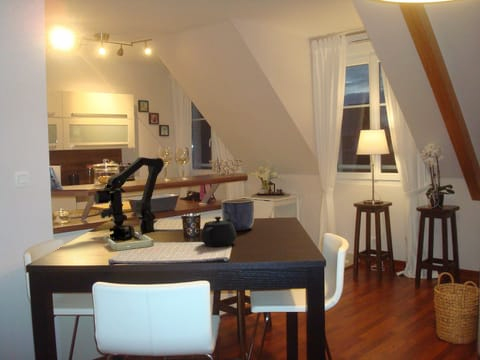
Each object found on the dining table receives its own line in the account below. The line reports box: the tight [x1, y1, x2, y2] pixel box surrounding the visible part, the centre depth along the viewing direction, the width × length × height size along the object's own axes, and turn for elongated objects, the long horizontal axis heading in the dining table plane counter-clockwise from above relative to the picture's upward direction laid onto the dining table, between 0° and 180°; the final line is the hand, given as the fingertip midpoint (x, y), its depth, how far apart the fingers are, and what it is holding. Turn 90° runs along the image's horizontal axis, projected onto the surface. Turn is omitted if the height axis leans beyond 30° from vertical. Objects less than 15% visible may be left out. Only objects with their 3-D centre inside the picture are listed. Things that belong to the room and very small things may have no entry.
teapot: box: [200, 216, 238, 248], centre depth 209 cm, size 25×16×12 cm, turn 156°
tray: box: [107, 234, 155, 252], centre depth 215 cm, size 17×16×3 cm
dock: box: [102, 231, 143, 244], centre depth 230 cm, size 16×10×3 cm, turn 116°
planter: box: [221, 198, 255, 232], centre depth 244 cm, size 17×17×15 cm
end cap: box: [109, 224, 136, 242], centre depth 230 cm, size 10×7×7 cm
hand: (118, 233), depth 239 cm, fingers closed
